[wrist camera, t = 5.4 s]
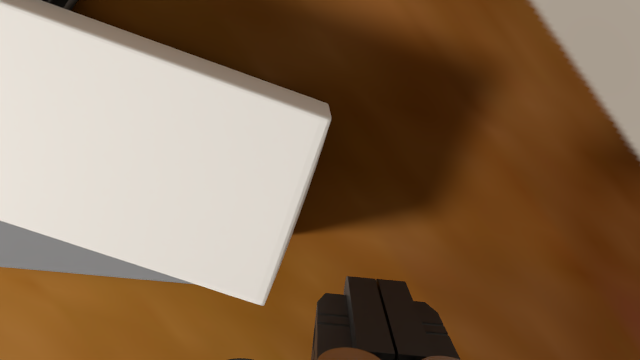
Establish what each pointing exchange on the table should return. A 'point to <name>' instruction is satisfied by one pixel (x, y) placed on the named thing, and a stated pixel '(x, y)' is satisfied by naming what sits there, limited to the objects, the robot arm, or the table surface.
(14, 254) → the mat
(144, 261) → the milk carton
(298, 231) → the table surface
